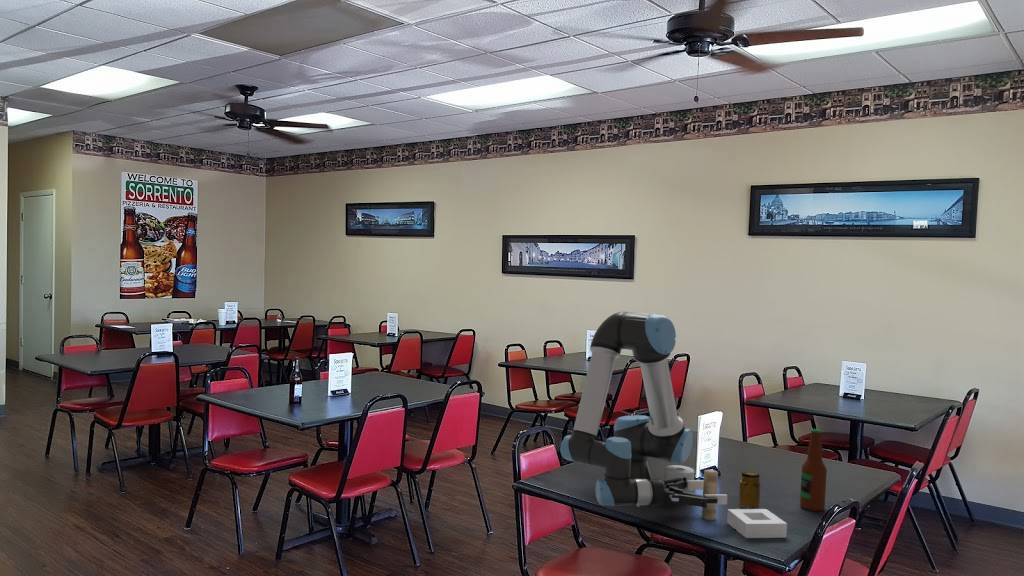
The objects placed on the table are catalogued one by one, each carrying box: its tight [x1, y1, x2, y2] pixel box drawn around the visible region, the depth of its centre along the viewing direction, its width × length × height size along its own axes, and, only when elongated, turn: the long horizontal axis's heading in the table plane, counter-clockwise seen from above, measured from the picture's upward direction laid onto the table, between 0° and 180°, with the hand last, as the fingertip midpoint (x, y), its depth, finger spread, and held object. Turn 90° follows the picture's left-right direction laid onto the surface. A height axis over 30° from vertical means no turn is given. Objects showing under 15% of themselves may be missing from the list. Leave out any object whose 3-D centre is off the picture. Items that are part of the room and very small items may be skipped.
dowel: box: [701, 469, 719, 521], centre depth 216 cm, size 4×4×14 cm
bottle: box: [799, 428, 828, 512], centre depth 230 cm, size 7×7×25 cm
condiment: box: [738, 470, 761, 509], centre depth 223 cm, size 7×8×12 cm
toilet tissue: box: [663, 464, 695, 493], centre depth 239 cm, size 9×13×9 cm
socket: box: [726, 508, 788, 539], centre depth 208 cm, size 12×12×4 cm
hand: (717, 491), depth 216 cm, fingers open, 13 cm apart
